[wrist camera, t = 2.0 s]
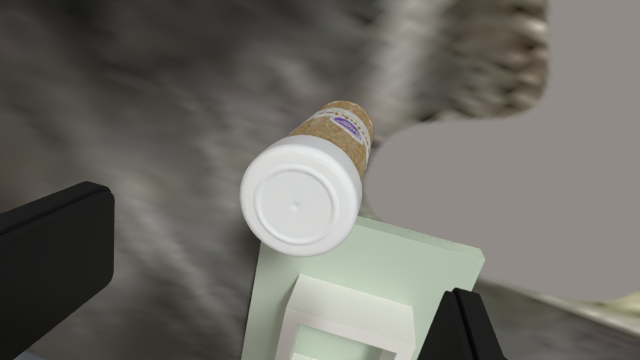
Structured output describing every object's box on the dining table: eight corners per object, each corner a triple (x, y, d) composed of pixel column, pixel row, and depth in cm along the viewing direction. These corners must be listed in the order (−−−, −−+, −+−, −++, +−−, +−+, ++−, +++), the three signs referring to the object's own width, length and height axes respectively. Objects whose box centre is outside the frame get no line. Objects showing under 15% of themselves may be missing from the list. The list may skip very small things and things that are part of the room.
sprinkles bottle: (384, 113, 24) (378, 176, 12) (359, 172, 26) (332, 280, 14) (322, 89, 25) (253, 126, 12) (301, 148, 26) (222, 234, 14)
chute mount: (274, 193, 28) (248, 224, 23) (480, 248, 26) (501, 295, 21) (241, 375, 35) (217, 429, 30) (402, 427, 34) (404, 494, 29)
